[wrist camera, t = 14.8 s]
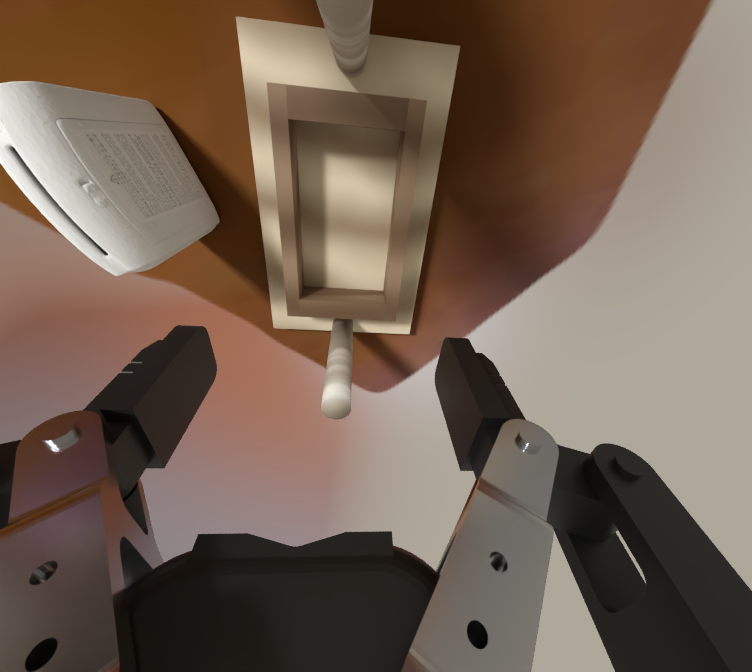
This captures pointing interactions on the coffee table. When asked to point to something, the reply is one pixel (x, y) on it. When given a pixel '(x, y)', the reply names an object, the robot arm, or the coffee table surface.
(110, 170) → the photo printer
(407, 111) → the beige hollow frame piece
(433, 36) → the coffee table surface
